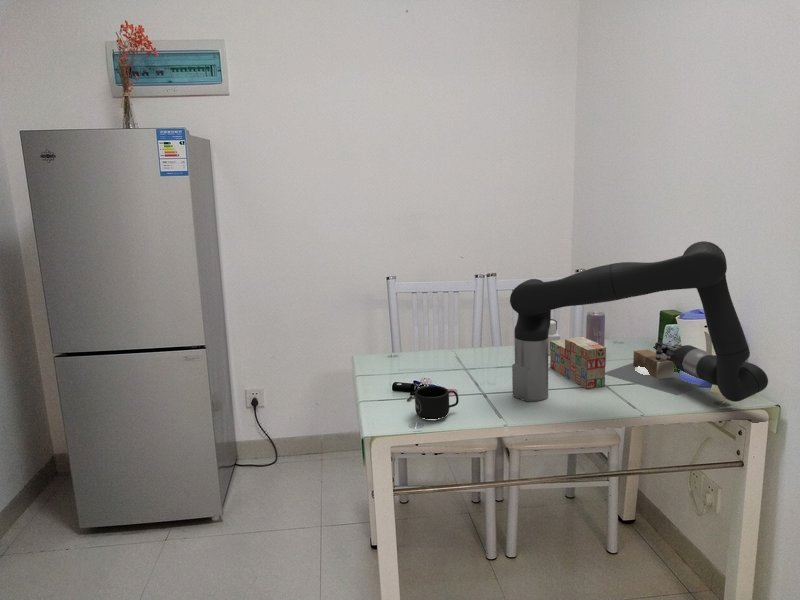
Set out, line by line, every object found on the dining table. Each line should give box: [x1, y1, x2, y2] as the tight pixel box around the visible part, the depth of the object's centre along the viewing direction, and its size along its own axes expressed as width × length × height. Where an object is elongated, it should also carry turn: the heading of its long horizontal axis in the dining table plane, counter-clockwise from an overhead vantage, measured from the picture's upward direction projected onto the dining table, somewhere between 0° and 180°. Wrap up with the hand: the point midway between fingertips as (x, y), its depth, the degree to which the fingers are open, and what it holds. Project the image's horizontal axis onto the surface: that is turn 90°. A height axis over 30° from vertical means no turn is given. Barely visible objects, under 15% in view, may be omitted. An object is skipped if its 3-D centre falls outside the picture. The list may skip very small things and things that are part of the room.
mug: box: [414, 385, 459, 420], centre depth 143 cm, size 12×9×7 cm
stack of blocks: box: [549, 336, 607, 390], centre depth 166 cm, size 21×6×12 cm, turn 13°
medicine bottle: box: [548, 318, 561, 356], centre depth 192 cm, size 7×7×12 cm
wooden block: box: [632, 349, 675, 379], centre depth 166 cm, size 5×5×13 cm
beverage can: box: [585, 311, 606, 347], centre depth 185 cm, size 6×6×15 cm
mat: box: [605, 362, 701, 396], centre depth 163 cm, size 20×24×1 cm
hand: (657, 345), depth 163 cm, fingers closed
